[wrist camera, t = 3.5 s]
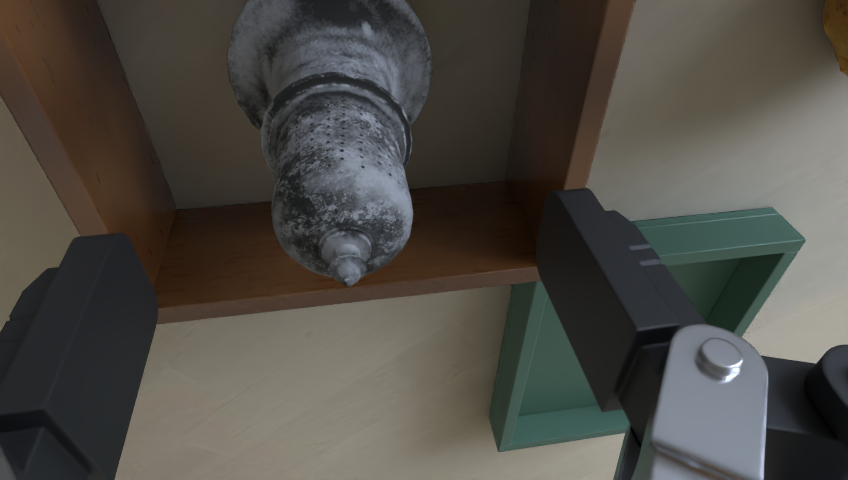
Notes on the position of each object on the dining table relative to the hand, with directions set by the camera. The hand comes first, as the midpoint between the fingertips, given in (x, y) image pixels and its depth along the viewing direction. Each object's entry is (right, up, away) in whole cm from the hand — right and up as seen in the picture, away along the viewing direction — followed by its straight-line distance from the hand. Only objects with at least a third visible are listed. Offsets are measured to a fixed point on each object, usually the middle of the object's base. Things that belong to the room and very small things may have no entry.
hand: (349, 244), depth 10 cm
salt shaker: (-2, +7, +8) cm, 11 cm away
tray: (+13, -5, +22) cm, 26 cm away
